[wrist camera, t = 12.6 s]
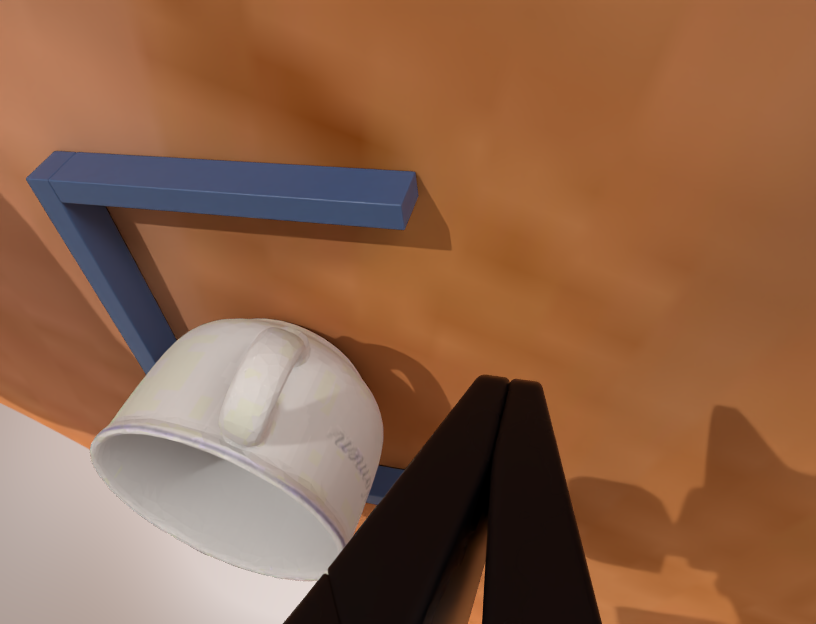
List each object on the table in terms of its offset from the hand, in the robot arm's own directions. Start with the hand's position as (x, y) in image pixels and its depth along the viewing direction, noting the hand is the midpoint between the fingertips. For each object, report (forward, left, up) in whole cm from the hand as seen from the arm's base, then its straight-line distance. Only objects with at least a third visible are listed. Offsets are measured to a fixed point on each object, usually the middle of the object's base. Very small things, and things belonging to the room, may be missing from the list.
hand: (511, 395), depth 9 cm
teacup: (+11, +15, -12) cm, 22 cm away
